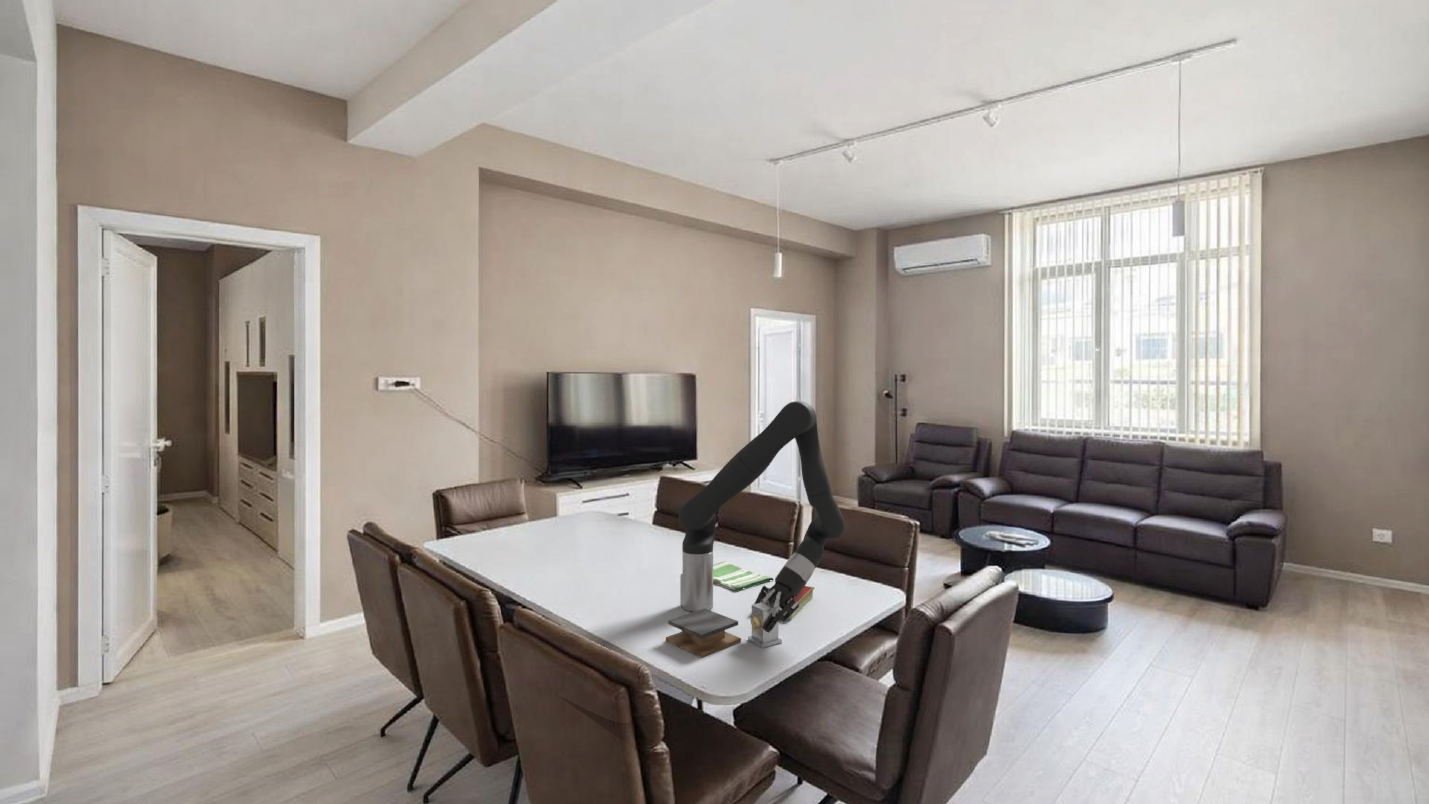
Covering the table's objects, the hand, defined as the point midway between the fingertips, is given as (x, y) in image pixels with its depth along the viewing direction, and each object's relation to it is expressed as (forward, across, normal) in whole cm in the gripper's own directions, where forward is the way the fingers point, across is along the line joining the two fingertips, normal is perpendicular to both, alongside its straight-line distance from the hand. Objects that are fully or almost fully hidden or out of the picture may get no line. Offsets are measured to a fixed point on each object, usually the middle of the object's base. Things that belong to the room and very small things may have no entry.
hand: (759, 626), depth 173 cm
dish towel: (-13, -49, +20) cm, 55 cm away
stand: (+11, -8, -6) cm, 15 cm away
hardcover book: (-13, -18, +20) cm, 30 cm away
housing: (+2, 0, +4) cm, 5 cm away
